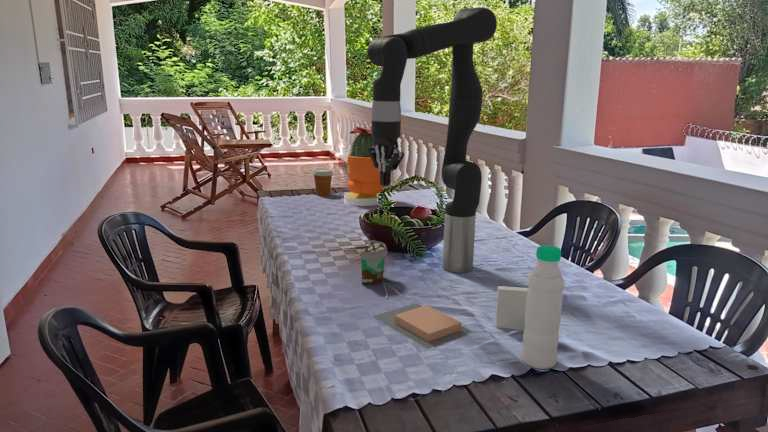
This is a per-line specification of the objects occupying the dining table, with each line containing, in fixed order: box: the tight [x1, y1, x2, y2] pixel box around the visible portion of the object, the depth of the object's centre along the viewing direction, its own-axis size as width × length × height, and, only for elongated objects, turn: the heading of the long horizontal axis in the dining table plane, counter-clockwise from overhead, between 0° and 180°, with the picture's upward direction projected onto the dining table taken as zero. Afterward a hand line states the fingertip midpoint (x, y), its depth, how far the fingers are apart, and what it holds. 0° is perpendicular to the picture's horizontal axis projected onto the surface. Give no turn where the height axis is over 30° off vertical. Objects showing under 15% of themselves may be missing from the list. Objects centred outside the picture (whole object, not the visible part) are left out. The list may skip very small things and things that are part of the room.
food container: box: [360, 240, 388, 286], centre depth 160 cm, size 12×6×10 cm, turn 168°
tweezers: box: [380, 280, 404, 301], centre depth 155 cm, size 18×5×2 cm, turn 14°
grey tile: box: [494, 285, 529, 332], centre depth 131 cm, size 2×8×10 cm, turn 83°
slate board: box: [372, 302, 473, 349], centre depth 133 cm, size 20×14×1 cm
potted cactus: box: [343, 126, 389, 207], centre depth 252 cm, size 22×22×35 cm
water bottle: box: [521, 244, 565, 370], centre depth 114 cm, size 7×7×25 cm
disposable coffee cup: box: [312, 168, 334, 197], centre depth 269 cm, size 10×10×12 cm
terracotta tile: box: [395, 304, 462, 342], centre depth 131 cm, size 2×10×12 cm
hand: (385, 185), depth 148 cm, fingers closed
